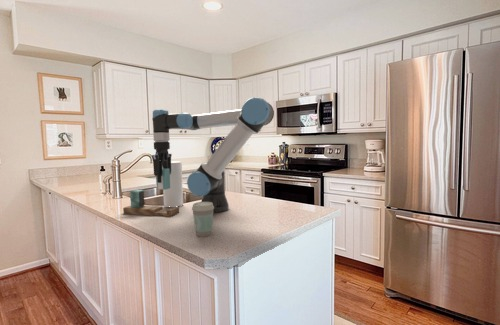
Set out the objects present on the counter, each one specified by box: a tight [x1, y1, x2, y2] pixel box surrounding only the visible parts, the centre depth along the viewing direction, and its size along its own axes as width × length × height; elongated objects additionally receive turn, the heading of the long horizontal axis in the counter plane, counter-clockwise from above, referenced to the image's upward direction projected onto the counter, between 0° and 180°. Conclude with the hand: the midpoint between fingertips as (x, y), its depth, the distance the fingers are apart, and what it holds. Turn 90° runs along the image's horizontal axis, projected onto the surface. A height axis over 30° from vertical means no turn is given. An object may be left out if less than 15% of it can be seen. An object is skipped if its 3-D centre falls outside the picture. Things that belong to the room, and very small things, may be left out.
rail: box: [122, 189, 180, 217], centre depth 141 cm, size 28×7×12 cm, turn 74°
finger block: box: [155, 169, 170, 191], centre depth 138 cm, size 6×4×10 cm
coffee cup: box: [191, 201, 214, 238], centre depth 107 cm, size 8×9×12 cm
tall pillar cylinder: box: [162, 160, 184, 208], centre depth 157 cm, size 11×11×25 cm
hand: (163, 188), depth 138 cm, fingers closed on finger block, 4 cm apart
